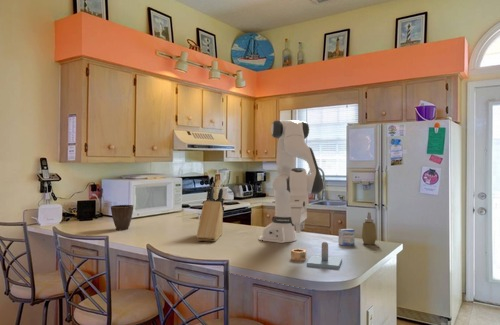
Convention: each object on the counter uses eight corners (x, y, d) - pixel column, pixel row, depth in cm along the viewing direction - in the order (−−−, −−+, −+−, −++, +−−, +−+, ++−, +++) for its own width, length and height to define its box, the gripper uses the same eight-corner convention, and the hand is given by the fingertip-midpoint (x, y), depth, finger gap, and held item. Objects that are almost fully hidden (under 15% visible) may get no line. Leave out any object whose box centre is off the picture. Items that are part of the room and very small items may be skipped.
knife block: (225, 231, 248) (225, 185, 248) (215, 243, 213) (215, 189, 213) (208, 231, 249) (208, 185, 249) (195, 242, 214) (196, 188, 214)
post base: (306, 266, 167) (306, 243, 166) (312, 258, 180) (312, 237, 180) (338, 269, 162) (338, 246, 162) (341, 261, 175) (342, 239, 175)
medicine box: (342, 245, 207) (342, 230, 207) (338, 244, 211) (338, 228, 211) (354, 245, 209) (354, 229, 209) (350, 243, 214) (350, 228, 214)
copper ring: (290, 260, 177) (290, 251, 177) (293, 256, 183) (293, 248, 183) (304, 261, 175) (304, 252, 175) (307, 257, 181) (307, 249, 181)
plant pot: (105, 230, 250) (105, 206, 250) (119, 226, 264) (119, 204, 264) (124, 231, 246) (124, 207, 246) (137, 228, 260) (137, 205, 260)
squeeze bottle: (373, 242, 216) (373, 211, 216) (378, 245, 208) (378, 213, 208) (359, 242, 216) (359, 211, 216) (364, 245, 208) (364, 213, 208)
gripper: (297, 199, 190) (298, 226, 189) (288, 204, 170) (289, 234, 170) (309, 199, 188) (310, 227, 187) (301, 204, 168) (303, 234, 168)
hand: (300, 230), depth 179 cm, fingers open, 8 cm apart
